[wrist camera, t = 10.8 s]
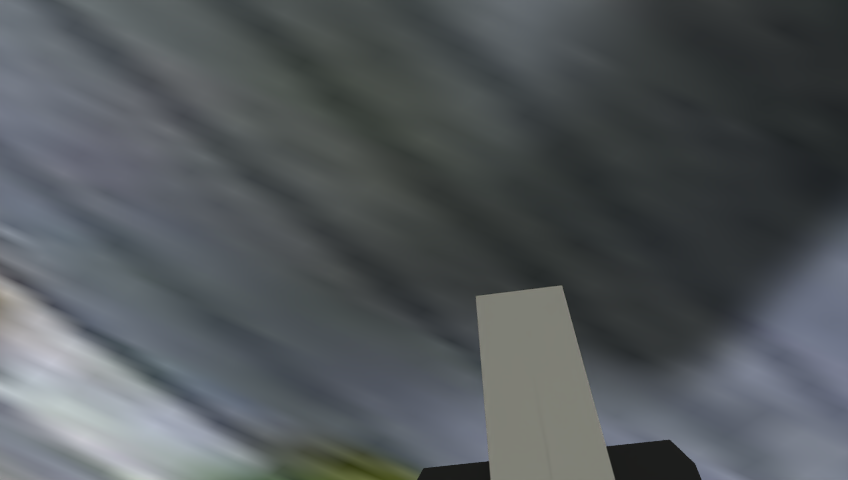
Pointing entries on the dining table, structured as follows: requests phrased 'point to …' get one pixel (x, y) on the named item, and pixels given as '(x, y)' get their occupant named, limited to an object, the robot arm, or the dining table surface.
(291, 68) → the dining table surface
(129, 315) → the dining table surface
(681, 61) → the dining table surface
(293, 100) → the dining table surface
